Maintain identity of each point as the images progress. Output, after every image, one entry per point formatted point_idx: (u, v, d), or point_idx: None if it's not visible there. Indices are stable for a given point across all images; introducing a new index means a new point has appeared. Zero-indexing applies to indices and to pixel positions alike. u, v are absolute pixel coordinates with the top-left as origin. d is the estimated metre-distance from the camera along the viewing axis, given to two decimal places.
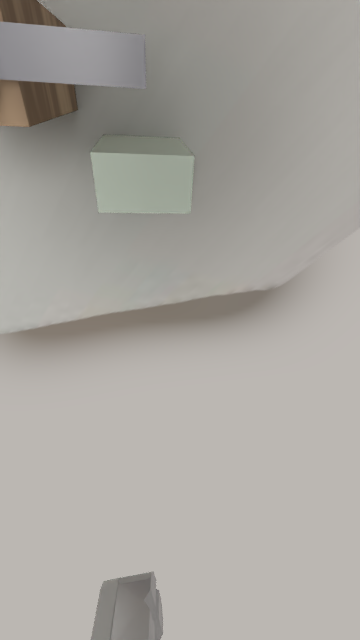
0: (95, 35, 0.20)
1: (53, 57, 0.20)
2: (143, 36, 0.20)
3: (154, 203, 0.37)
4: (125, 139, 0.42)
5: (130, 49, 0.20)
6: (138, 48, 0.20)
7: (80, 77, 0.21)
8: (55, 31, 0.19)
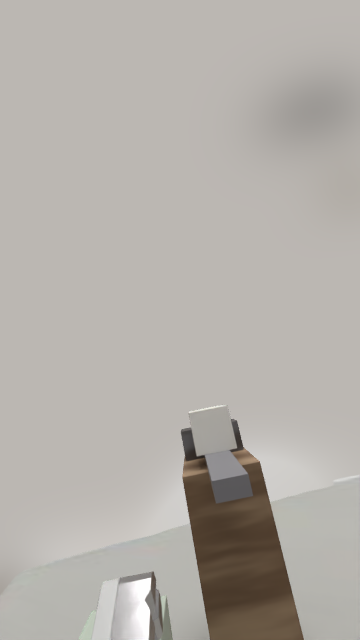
0: (237, 464, 0.26)
1: (220, 460, 0.29)
2: (246, 473, 0.22)
3: None
4: None
5: (235, 472, 0.23)
6: (238, 474, 0.23)
7: (212, 466, 0.27)
8: (233, 458, 0.28)
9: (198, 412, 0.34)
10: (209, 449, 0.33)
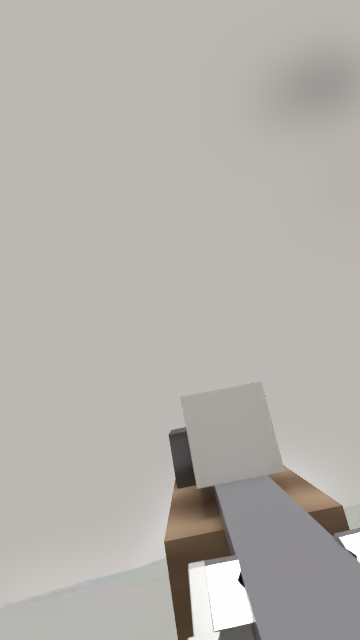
0: (332, 547, 0.08)
1: (260, 513, 0.11)
2: None
3: None
4: None
5: None
6: None
7: (244, 539, 0.09)
8: (297, 510, 0.10)
9: (201, 395, 0.17)
10: (225, 474, 0.15)
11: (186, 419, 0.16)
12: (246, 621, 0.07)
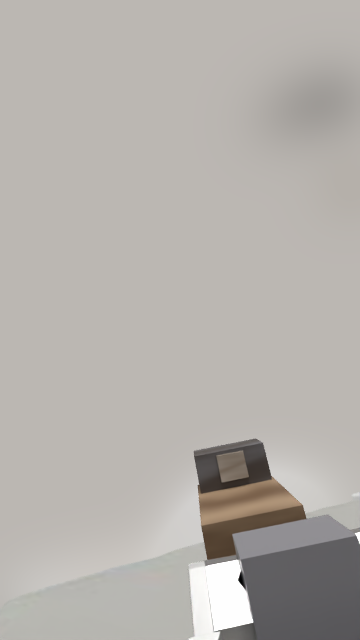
0: None
1: None
2: None
3: None
4: None
5: None
6: None
7: None
8: None
9: None
10: None
11: None
12: (246, 621, 0.07)
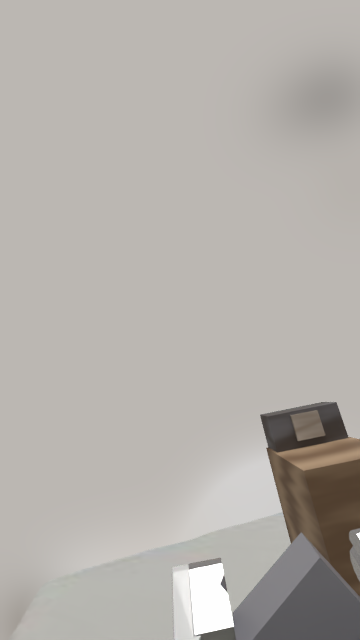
0: None
1: None
2: None
3: None
4: None
5: None
6: None
7: None
8: None
9: None
10: None
11: None
12: (226, 625, 0.06)
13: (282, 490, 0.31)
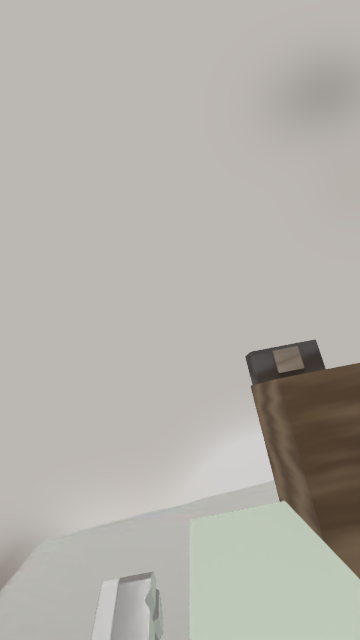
0: None
1: None
2: None
3: (217, 581, 0.13)
4: None
5: None
6: None
7: None
8: None
9: None
10: None
11: None
12: None
13: (263, 419, 0.34)
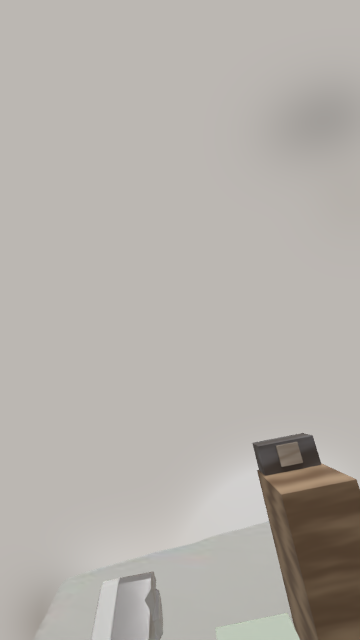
0: None
1: None
2: None
3: None
4: None
5: None
6: None
7: None
8: None
9: None
10: None
11: None
12: None
13: (268, 505, 0.40)
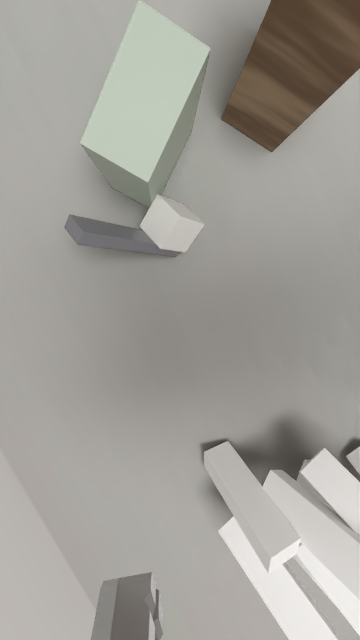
0: (108, 234, 0.31)
1: (123, 231, 0.34)
2: (83, 231, 0.28)
3: (116, 96, 0.25)
4: (182, 143, 0.37)
5: (88, 228, 0.29)
6: (83, 228, 0.29)
7: (108, 224, 0.33)
8: (126, 238, 0.33)
9: (162, 200, 0.36)
10: (147, 230, 0.38)
11: (152, 203, 0.37)
12: None
13: None
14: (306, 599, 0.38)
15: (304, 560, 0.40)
